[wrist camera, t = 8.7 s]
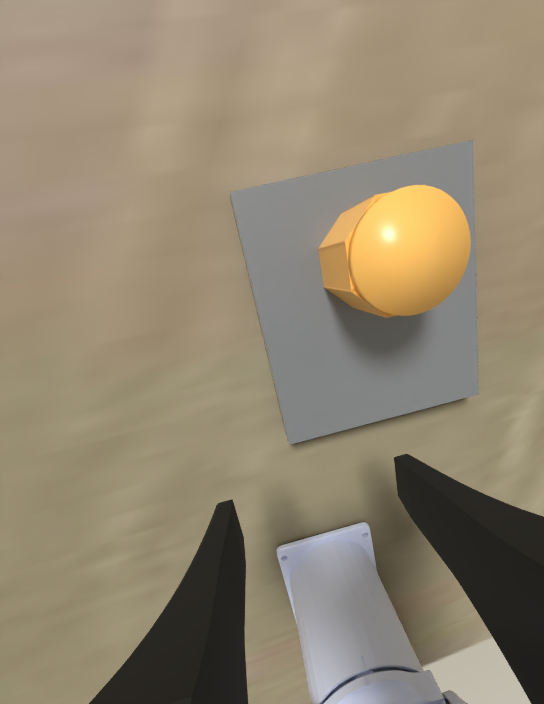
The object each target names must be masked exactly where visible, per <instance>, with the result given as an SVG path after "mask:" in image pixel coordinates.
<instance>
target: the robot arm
mask: <svg viewBox="0 0 544 704" xmlns="http://www.w3.org/2000/svg"><path fill="white" fill-rule="evenodd" d="M394 462H395V471H396V481H397V490H398V496H399V498H400V500H401V501H402V503H403V505H404V507H405V508H406V510H407V512H408V513H409V515H410V517H411V518H412V520H413V521H414V522H415V524H416V525H417V526H418V528H419V529H420V530H421V532H422V533H423V535H424V536H425V537H426V539H427V540H428V541H429V542H430V544H431V545H432V546H433V548H434V549H435V550H436V552H437V553H438V554H439V556H440V557H441V558H442V560H443V561H444V562H445V564H446V565H447V566H448V568H449V569H450V570H451V572H452V573H453V575H454V576H455V578H456V579H457V580H458V582H459V583H460V585H461V586H462V588H463V590H464V591H465V593H466V594H467V596H468V598H469V599H470V601H471V602H472V604H473V605H474V607H475V609H476V610H477V612H478V613H479V615H480V617H481V618H482V620H483V622H484V623H485V625H486V627H487V628H488V630H489V631H490V633H491V635H492V636H493V638H494V640H495V641H496V643H497V645H498V646H499V648H500V650H501V651H502V653H503V655H504V657H505V658H506V660H507V662H508V663H509V665H510V667H511V669H512V670H513V672H514V673H515V675H516V677H517V679H518V681H519V682H520V684H521V686H522V687H523V689H524V691H525V693H526V695H527V696H528V698H529V700H530V702H531V704H544V517H543V516H540V515H537V514H534V513H531V512H528V511H525V510H522V509H520V508H517V507H514V506H512V505H509V504H507V503H504V502H502V501H499V500H497V499H494V498H492V497H490V496H487V495H485V494H483V493H481V492H479V491H476V490H474V489H472V488H470V487H468V486H466V485H464V484H462V483H460V482H458V481H456V480H454V479H452V478H450V477H448V476H446V475H445V474H443V473H441V472H439V471H437V470H435V469H434V468H432V467H430V466H428V465H426V464H425V463H423V462H421V461H419V460H418V459H416V458H414V457H412V456H410V455H408V454H405V455H401V456H397V457H394ZM363 533H364V534H363ZM277 556H278V560H279V563H280V567H281V571H282V574H283V578H284V581H285V585H286V588H287V592H288V595H289V599H290V602H291V606H292V609H293V613H294V616H295V620H296V623H297V626H298V631H299V637H300V643H301V649H302V654H303V660H304V666H305V671H306V677H307V683H308V689H309V694H310V700H311V704H467V703H466V702H465V701H463V700H462V699H460V698H459V697H458V696H457V695H456V694H455V693H454V692H453V691H446V692H443V693H441V691H440V689H439V687H438V685H437V683H436V681H435V679H434V677H433V675H432V673H431V671H430V670H427V671H423V669H422V667H421V665H420V663H419V660H418V658H417V656H416V654H415V652H414V650H413V648H412V646H411V643H410V641H409V639H408V637H407V635H406V633H405V631H404V629H403V626H402V624H401V622H400V620H399V618H398V616H397V614H396V612H395V609H394V607H393V605H392V603H391V601H390V599H389V597H388V595H387V592H386V590H385V588H384V586H383V584H382V582H381V580H380V578H379V576H378V573H377V569H376V563H375V557H374V550H373V544H372V538H371V532H370V527H369V525H368V524H367V523H366V522H362V523H358V524H355V525H351V526H348V527H344V528H340V529H337V530H333V531H330V532H326V533H323V534H319V535H316V536H312V537H309V538H305V539H302V540H298V541H295V542H291V543H288V544H284V545H281V546H279V547H278V548H277ZM245 579H246V561H245V548H244V537H243V533H242V530H241V527H240V523H239V520H238V517H237V513H236V510H235V506H234V503H233V500H228V501H225V502H221V503H218V504H217V506H216V508H215V511H214V514H213V516H212V519H211V521H210V524H209V526H208V529H207V531H206V533H205V536H204V538H203V540H202V542H201V544H200V546H199V549H198V551H197V553H196V555H195V557H194V559H193V561H192V563H191V565H190V566H189V568H188V570H187V572H186V574H185V576H184V578H183V579H182V581H181V583H180V585H179V586H178V588H177V590H176V591H175V593H174V595H173V596H172V598H171V600H170V601H169V603H168V604H167V606H166V607H165V609H164V610H163V612H162V613H161V615H160V616H159V618H158V619H157V621H156V622H155V624H154V625H153V627H152V628H151V629H150V631H149V632H148V633H147V635H146V636H145V637H144V639H143V640H142V641H141V643H140V644H139V645H138V647H137V648H136V649H135V650H134V652H133V653H132V654H131V656H130V657H129V658H128V659H127V661H126V662H125V663H124V664H123V665H122V667H121V668H120V669H119V670H118V671H117V673H116V674H115V675H114V676H113V677H112V678H111V679H110V681H109V682H108V683H107V684H106V685H105V686H104V687H103V689H102V690H101V691H100V692H99V693H98V694H97V695H96V697H95V698H94V699H93V700H92V701H91V702H90V703H89V704H248V694H247V679H246V661H245V637H244V625H245Z"/></svg>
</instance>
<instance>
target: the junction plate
mask: <svg viewBox="0 0 544 704" xmlns="http://www.w3.org/2000/svg"><path fill="white" fill-rule="evenodd" d="M424 184H425V185H426V186H431V187H435V188H437V189H440V190H442V191H444V192H445V193H447V194H448V195H449V196H451V197H452V198H453V199H454V200H455V201H456V202H457V203H458V205H459V206H460V207H461V209H462V210H463V212H464V215H465V217H466V219H467V222H468V225H469V230H470V239H471V245H470V255H469V260H468V263H467V267H466V269H465V272H464V274H463V276H462V278H461V280H460V282H459V283H458V285H457V286H456V288H455V289H454V290H453V292H452V293H451V294H450V295H449V296H448V297H447V298H446V299H445V300H444V301H443V302H441V303H440V304H439V305H437V306H436V307H434V308H432V309H430V310H428V311H426V312H423V313H420V314H417V315H410V316H399V315H397V316H393V317H389V318H385V317H382V316H378V315H375V314H372V313H369V312H365V311H362V310H359V309H355V308H352V307H351V306H350V305H348V304H347V303H346V302H344V301H343V300H341V299H340V298H339V297H337V296H336V295H334V294H333V293H331V292H330V291H329V290H327V289H326V288H324V284H323V277H322V271H321V264H320V257H319V251H318V248H319V247H320V245H321V244H322V242H323V241H324V239H325V237H326V236H327V234H328V233H329V231H330V230H331V228H332V227H333V225H334V224H335V222H336V221H337V219H338V217H339V216H340V214H341V213H343V212H345V211H347V210H349V209H350V208H352V207H354V206H356V205H358V204H359V203H361V202H363V201H365V200H367V199H368V198H370V197H372V196H374V195H378V194H383V193H388V192H393V191H395V190H397V189H400V188H403V187H407V186H412V185H424ZM230 199H231V204H232V208H233V212H234V216H235V221H236V225H237V229H238V233H239V237H240V242H241V246H242V250H243V254H244V259H245V263H246V267H247V271H248V276H249V280H250V284H251V288H252V292H253V297H254V301H255V305H256V309H257V314H258V318H259V322H260V326H261V331H262V335H263V339H264V343H265V348H266V352H267V356H268V360H269V364H270V369H271V373H272V377H273V381H274V386H275V390H276V394H277V398H278V403H279V407H280V411H281V415H282V419H283V424H284V428H285V432H286V436H287V439H288V442H289V445H290V444H294V443H298V442H302V441H305V440H309V439H313V438H317V437H320V436H324V435H328V434H332V433H335V432H339V431H343V430H347V429H350V428H354V427H358V426H362V425H365V424H369V423H373V422H377V421H381V420H384V419H388V418H392V417H396V416H399V415H403V414H407V413H411V412H414V411H418V410H422V409H426V408H429V407H433V406H437V405H441V404H444V403H448V402H452V401H456V400H459V399H463V398H467V397H471V396H474V395H478V394H479V385H478V341H477V297H476V254H475V210H474V167H473V140H470V141H465V142H460V143H456V144H451V145H447V146H442V147H437V148H433V149H428V150H423V151H419V152H414V153H409V154H405V155H400V156H395V157H391V158H386V159H382V160H377V161H372V162H368V163H363V164H358V165H354V166H349V167H344V168H340V169H335V170H331V171H326V172H321V173H317V174H312V175H307V176H303V177H298V178H293V179H289V180H284V181H279V182H275V183H270V184H266V185H261V186H256V187H252V188H247V189H242V190H238V191H233V192H230Z"/></svg>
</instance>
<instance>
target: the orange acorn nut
mask: <svg viewBox="0 0 544 704" xmlns="http://www.w3.org/2000/svg"><path fill="white" fill-rule="evenodd" d="M470 245H471V239H470V230H469V225H468V222H467V219H466V217H465V215H464V212H463V210H462V209H461V207H460V206H459V205H458V203H457V202H456V201H455V200H454V199H453V198H452V197H451V196H449V195H448V194H447V193H445V192H444V191H442V190H440V189H437V188H435V187H431V186H426V185H425V184H424V185H412V186H407V187H403V188H400V189H397V190H395V191H393V192H388V193H383V194H378V195H374V196H372V197H370V198H368V199H367V200H365V201H363V202H361V203H359V204H358V205H356V206H354V207H352V208H350V209H349V210H347V211H345V212H343V213H341V214H340V216H339V217H338V219H337V221H336V222H335V224H334V225H333V227H332V228H331V230H330V231H329V233H328V234H327V236H326V237H325V239H324V241H323V242H322V244H321V245H320V247H319V248H318V251H319V257H320V264H321V271H322V277H323V284H324V288H326V289H327V290H329V291H330V292H331V293H333V294H334V295H336V296H337V297H339V298H340V299H341V300H343V301H344V302H346V303H347V304H348V305H350V306H351V307H352V308H355V309H359V310H362V311H365V312H369V313H372V314H375V315H378V316H382V317H385V318H389V317H393V316H397V315H399V316H410V315H417V314H420V313H423V312H426V311H428V310H430V309H432V308H434V307H436V306H437V305H439V304H440V303H441V302H443V301H444V300H445V299H446V298H447V297H448V296H449V295H450V294H451V293H452V292H453V290H454V289H455V288H456V286H457V285H458V283H459V282H460V280H461V278H462V276H463V274H464V272H465V269H466V267H467V263H468V260H469V255H470Z"/></svg>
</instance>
